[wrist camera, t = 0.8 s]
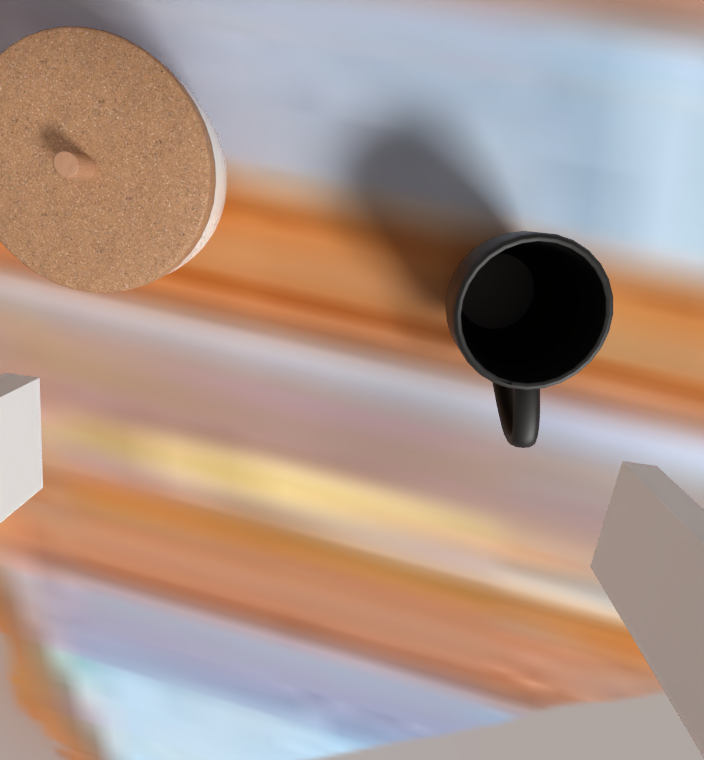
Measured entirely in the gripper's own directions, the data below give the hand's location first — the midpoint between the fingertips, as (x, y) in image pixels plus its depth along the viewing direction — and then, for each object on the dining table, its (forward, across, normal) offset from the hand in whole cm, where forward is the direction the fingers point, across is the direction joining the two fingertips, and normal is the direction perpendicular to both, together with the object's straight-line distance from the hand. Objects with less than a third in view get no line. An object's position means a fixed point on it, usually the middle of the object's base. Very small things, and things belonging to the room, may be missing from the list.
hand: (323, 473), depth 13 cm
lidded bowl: (+27, -14, +6) cm, 31 cm away
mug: (+27, +9, 0) cm, 29 cm away
